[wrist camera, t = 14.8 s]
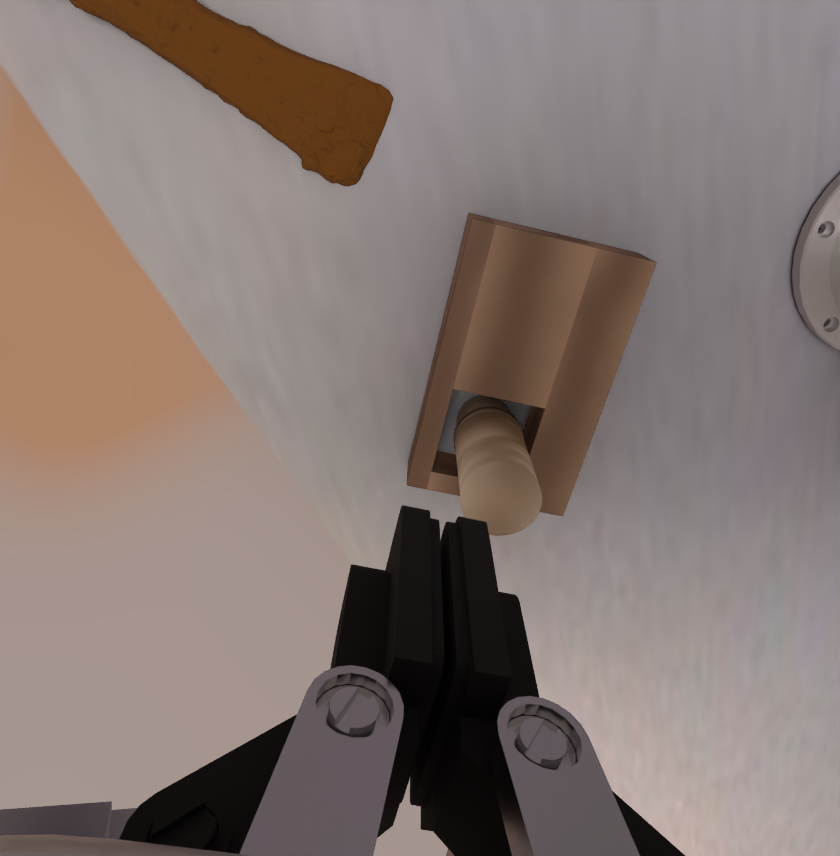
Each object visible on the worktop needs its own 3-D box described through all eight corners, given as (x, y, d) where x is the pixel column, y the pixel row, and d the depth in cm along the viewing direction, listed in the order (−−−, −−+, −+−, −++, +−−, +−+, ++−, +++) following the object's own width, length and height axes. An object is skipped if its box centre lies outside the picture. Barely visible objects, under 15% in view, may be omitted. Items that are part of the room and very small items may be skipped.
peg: (524, 397, 40) (554, 473, 31) (506, 454, 42) (529, 542, 33) (460, 384, 40) (471, 456, 31) (445, 442, 41) (451, 528, 32)
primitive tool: (397, 94, 34) (394, 90, 30) (356, 194, 36) (349, 200, 32) (29, -105, 30) (-18, -133, 27) (7, 18, 32) (-39, 6, 29)
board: (639, 253, 36) (656, 262, 34) (553, 492, 43) (562, 516, 40) (468, 213, 35) (472, 218, 33) (407, 462, 42) (406, 485, 39)
